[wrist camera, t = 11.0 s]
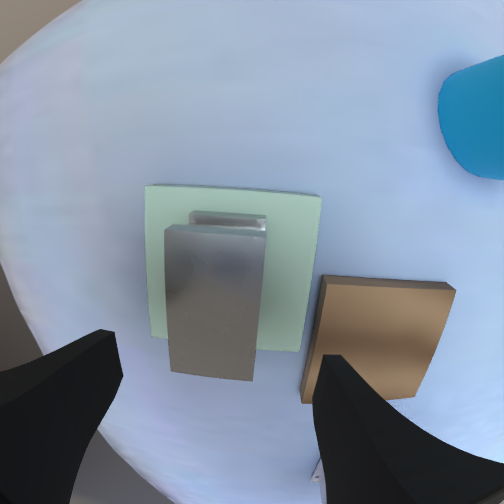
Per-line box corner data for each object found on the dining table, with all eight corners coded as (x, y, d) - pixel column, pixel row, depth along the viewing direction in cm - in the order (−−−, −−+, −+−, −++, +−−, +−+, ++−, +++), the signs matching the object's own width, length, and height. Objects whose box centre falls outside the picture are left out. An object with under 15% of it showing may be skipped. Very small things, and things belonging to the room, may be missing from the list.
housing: (255, 327, 18) (252, 381, 13) (193, 320, 18) (170, 371, 13) (265, 215, 16) (266, 237, 11) (194, 210, 16) (164, 230, 11)
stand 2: (408, 386, 21) (414, 397, 20) (299, 390, 21) (301, 403, 20) (446, 282, 18) (456, 290, 17) (322, 274, 19) (327, 283, 17)
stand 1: (297, 339, 20) (299, 351, 19) (158, 326, 20) (151, 336, 19) (317, 194, 17) (321, 197, 16) (154, 184, 17) (145, 186, 16)
